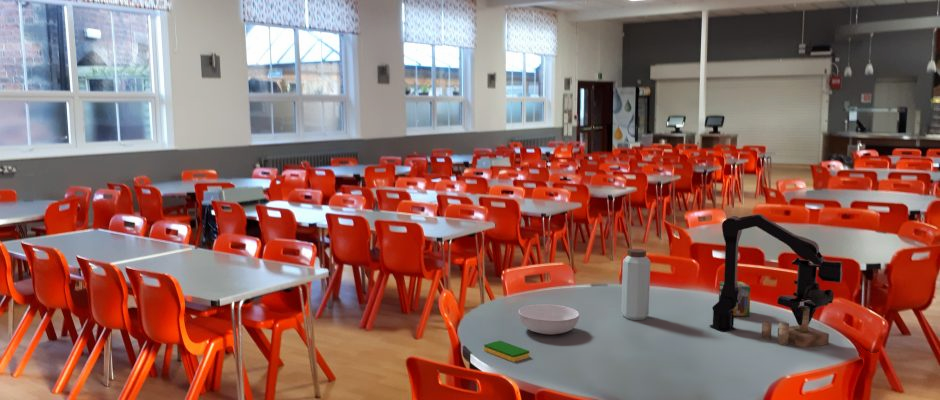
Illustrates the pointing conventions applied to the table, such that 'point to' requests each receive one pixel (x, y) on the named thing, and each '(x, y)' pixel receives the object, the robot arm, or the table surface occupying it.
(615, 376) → the table surface
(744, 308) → the chalk box
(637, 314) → the water bottle
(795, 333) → the brown slab
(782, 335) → the dowel medium
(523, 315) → the serving bowl
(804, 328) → the dowel long
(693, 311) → the table surface
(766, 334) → the dowel short
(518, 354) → the dish sponge
